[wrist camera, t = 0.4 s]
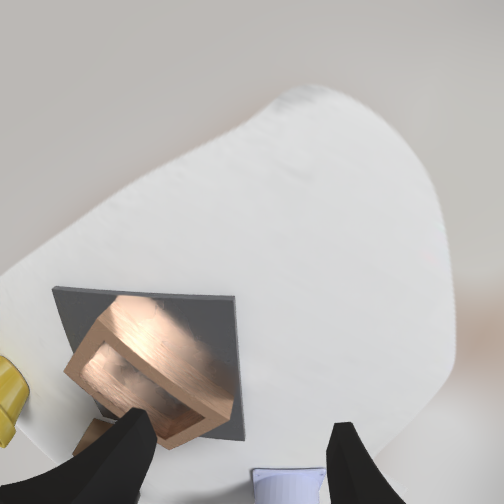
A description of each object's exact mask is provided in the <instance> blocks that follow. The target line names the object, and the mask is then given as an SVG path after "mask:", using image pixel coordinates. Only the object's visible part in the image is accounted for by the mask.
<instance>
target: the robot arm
mask: <svg viewBox="0 0 504 504" xmlns="http://www.w3.org/2000/svg"><path fill="white" fill-rule="evenodd" d="M157 440H158V438H157V436H156V433H155V431H154V429H153V426H152V424H151V421H150V419H149V417H148V414H147V412H146V410H144V409H139V408H135V407H132V408H131V409H130V410H129V411H128V412H126V413H125V414H124V415H123V416H122V417H121V418H120V419H119V420H118V421H117V422H116V423H115V424H114V425H113V426H111V427H110V428H109V429H108V430H107V431H106V432H105V433H104V434H102V435H101V436H100V437H99V438H98V439H97V440H95V441H94V442H93V443H92V444H90V445H89V446H88V447H87V448H85V449H84V450H83V451H81V452H80V453H79V454H77V455H76V456H74V457H73V458H71V459H70V460H68V461H66V462H65V463H63V464H61V465H59V466H58V467H56V468H54V469H52V470H50V471H48V472H46V473H43V474H41V475H38V476H36V477H33V478H30V479H27V480H24V481H20V482H16V483H12V484H7V485H1V487H0V504H134V502H135V500H136V497H137V495H138V492H139V490H140V487H141V485H142V483H143V480H144V478H145V476H146V473H147V471H148V469H149V466H150V464H151V461H152V459H153V455H154V452H155V448H156V444H157ZM326 462H327V478H328V485H329V492H330V499H331V504H406V503H405V502H404V501H403V500H402V499H401V498H400V497H399V495H398V494H397V493H396V492H395V491H394V490H393V488H392V487H391V486H390V485H389V483H388V482H387V481H386V479H385V478H384V477H383V475H382V474H381V472H380V471H379V469H378V468H377V466H376V465H375V463H374V462H373V460H372V459H371V457H370V455H369V454H368V452H367V450H366V449H365V447H364V445H363V443H362V441H361V439H360V438H359V436H358V434H357V432H356V430H355V428H354V425H353V423H351V422H342V423H334V427H333V430H332V434H331V437H330V440H329V444H328V447H327V450H326ZM325 475H326V469H324V468H321V469H299V470H270V469H254V470H253V485H254V498H255V504H320V502H319V490H320V487H321V485H322V482H323V480H324V477H325Z"/></svg>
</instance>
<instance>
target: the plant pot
mask: <svg viewBox="0 0 504 504" xmlns="http://www.w3.org/2000/svg"><path fill="white" fill-rule="evenodd" d="M28 395H29V388H28V385H27V383H26V381H25V379H24V378H23V376H22V375H21V373H20V372H19V371H18V370H17V368H16V367H15V366H14V365H13V364H12V363H11V362H10V361H9V360H8V359H6V358H5V357H3V356H0V447H2V448H5V447H6V446H7V445H8V443H9V442H10V441H11V439H12V438H13V436H14V435H15V433H16V430H15V427H14V426H15V424H16V421H17V419H18V417H19V415H20V412H21V410H22V408H23V406H24V403H25V401H26V399H27V397H28Z"/></svg>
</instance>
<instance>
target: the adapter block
mask: <svg viewBox="0 0 504 504" xmlns="http://www.w3.org/2000/svg"><path fill="white" fill-rule="evenodd" d="M113 425H114V424H111V423H107V422H104V421H101V420H97V419H93V421H92V422H91V424H90V426H89V427H88V429H87V430H86V432H85V434H84V435H83V437H82V439H81V440H80V442H79V444H78V445H77V447H76V449H75V450H74V452H73V454H72V455H73V456H76V455H77V454H79V453H80V452H81V451H83V450H84V449H85V448H87V447H88V446H89V445H90V444H92V443H93V442H94V441H95V440H97V439H98V438H99V437H100V436H101V435H102V434H104V433H105V432H106V431H107V430H108V429H109V428H110V427H111V426H113Z"/></svg>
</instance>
